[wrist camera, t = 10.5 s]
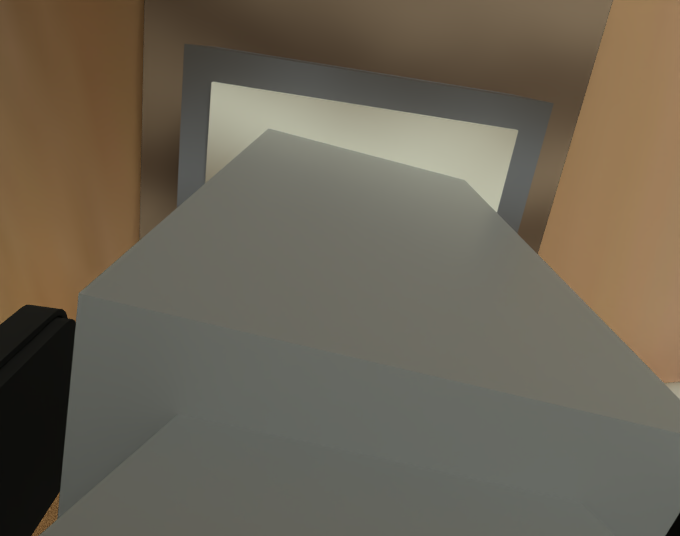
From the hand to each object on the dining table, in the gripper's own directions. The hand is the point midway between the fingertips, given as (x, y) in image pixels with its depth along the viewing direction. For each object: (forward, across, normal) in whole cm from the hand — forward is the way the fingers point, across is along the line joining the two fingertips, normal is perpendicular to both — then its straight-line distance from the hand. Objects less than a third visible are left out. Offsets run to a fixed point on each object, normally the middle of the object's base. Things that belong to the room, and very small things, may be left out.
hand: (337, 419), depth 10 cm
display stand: (+17, 0, +1) cm, 17 cm away
